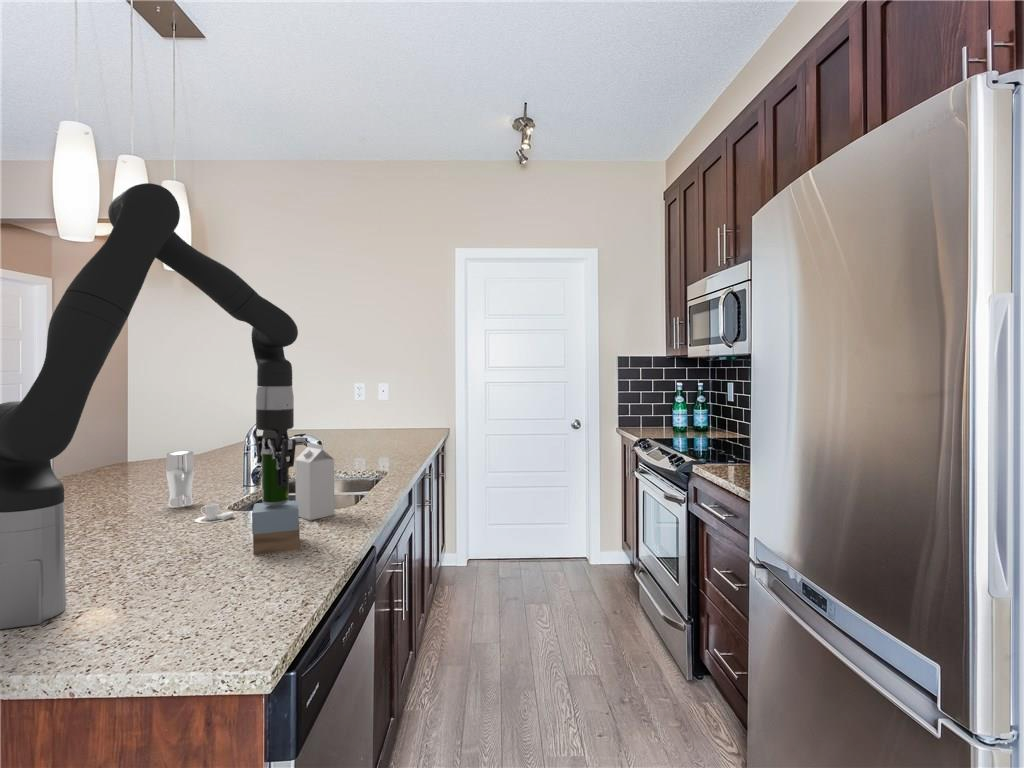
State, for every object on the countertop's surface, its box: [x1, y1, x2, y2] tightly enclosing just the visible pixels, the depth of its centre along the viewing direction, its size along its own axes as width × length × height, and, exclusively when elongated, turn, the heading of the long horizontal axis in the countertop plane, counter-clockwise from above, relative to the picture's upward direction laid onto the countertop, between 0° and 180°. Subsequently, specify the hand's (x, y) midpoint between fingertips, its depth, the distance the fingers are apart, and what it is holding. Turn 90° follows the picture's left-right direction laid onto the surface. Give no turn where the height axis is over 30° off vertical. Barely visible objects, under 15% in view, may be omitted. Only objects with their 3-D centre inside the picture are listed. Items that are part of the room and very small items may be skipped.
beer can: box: [261, 448, 290, 506], centre depth 122 cm, size 5×5×12 cm
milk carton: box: [295, 442, 335, 521], centre depth 147 cm, size 7×7×19 cm
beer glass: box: [165, 450, 195, 509], centre depth 159 cm, size 7×7×15 cm
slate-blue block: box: [251, 499, 300, 535], centre depth 122 cm, size 9×9×4 cm
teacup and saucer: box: [194, 503, 235, 524], centre depth 144 cm, size 9×8×4 cm
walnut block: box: [252, 528, 301, 555], centre depth 122 cm, size 9×9×4 cm
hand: (275, 484), depth 122 cm, fingers closed on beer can, 5 cm apart
